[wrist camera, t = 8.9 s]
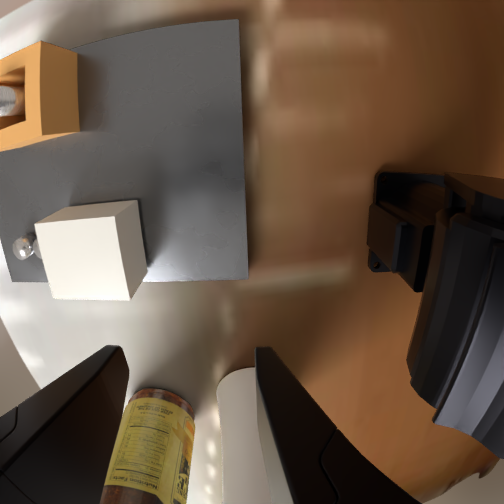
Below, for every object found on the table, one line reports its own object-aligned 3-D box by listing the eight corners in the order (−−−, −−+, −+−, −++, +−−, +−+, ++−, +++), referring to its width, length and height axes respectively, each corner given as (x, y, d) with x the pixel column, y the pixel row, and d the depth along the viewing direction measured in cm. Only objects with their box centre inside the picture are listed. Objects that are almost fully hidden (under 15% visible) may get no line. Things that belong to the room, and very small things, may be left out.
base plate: (239, 25, 15) (235, -19, 9) (248, 270, 20) (249, 327, 14) (-6, 85, 15) (-64, 85, 9) (20, 275, 20) (-26, 314, 14)
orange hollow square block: (77, 53, 14) (40, 40, 10) (80, 131, 16) (41, 135, 12) (16, 75, 14) (-23, 72, 10) (19, 147, 16) (-21, 156, 12)
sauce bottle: (183, 435, 27) (157, 622, 8) (122, 410, 26) (67, 597, 7) (210, 399, 25) (189, 631, 6) (140, 370, 23) (70, 603, 5)
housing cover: (137, 199, 17) (114, 216, 14) (147, 272, 19) (130, 300, 15) (64, 207, 17) (34, 223, 14) (78, 273, 19) (53, 298, 15)
